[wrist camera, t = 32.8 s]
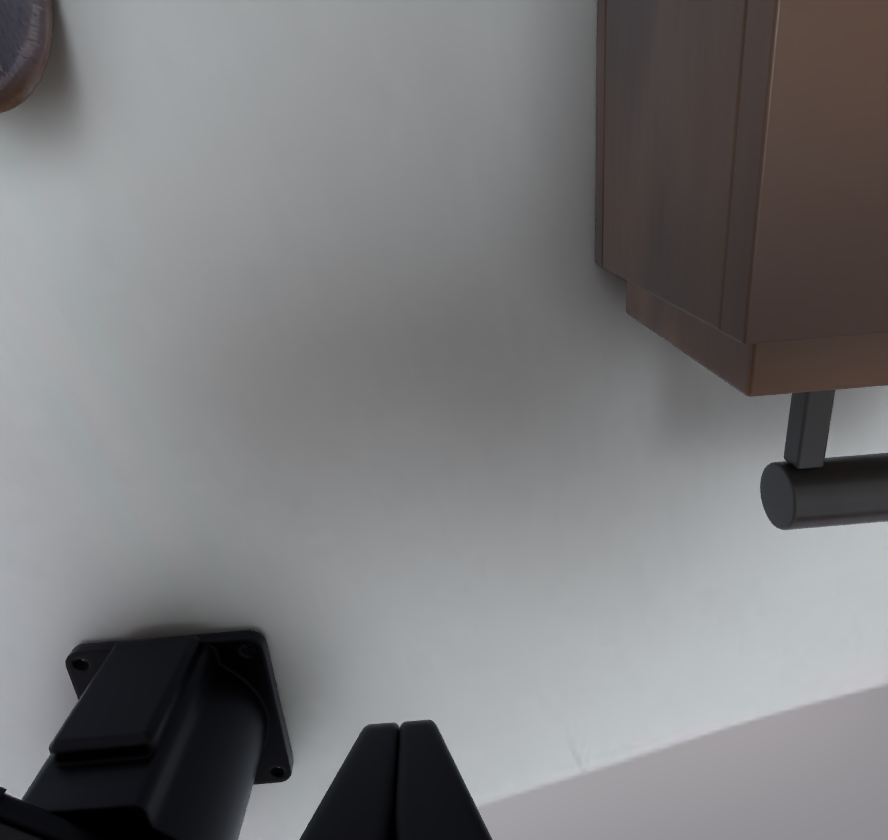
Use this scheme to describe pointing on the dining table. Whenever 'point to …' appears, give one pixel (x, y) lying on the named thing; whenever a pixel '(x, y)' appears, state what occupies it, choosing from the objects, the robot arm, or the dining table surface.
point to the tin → (23, 48)
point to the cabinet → (747, 161)
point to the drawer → (792, 411)
